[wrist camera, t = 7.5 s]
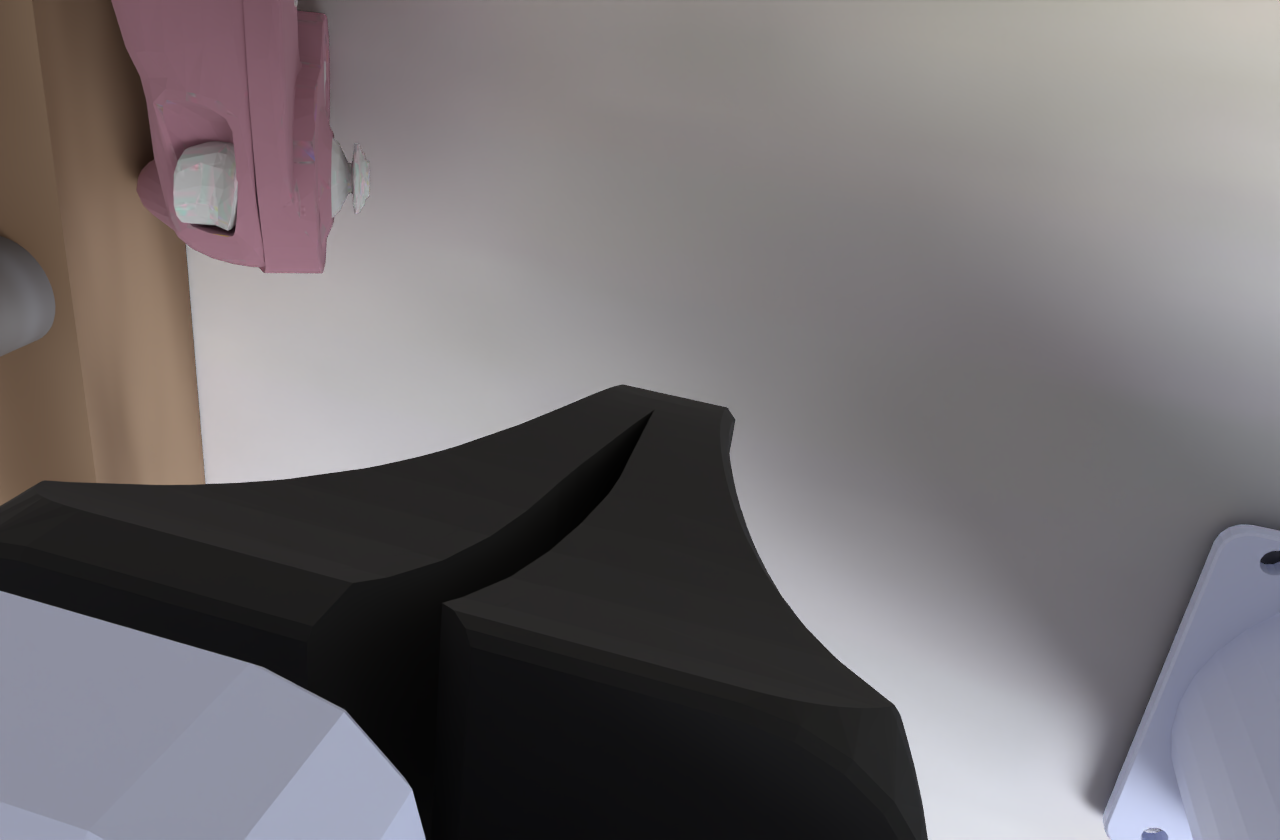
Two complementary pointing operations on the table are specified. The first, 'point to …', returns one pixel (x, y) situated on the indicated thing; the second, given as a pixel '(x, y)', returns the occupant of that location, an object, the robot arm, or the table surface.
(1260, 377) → the table surface
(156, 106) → the video game controller
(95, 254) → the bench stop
